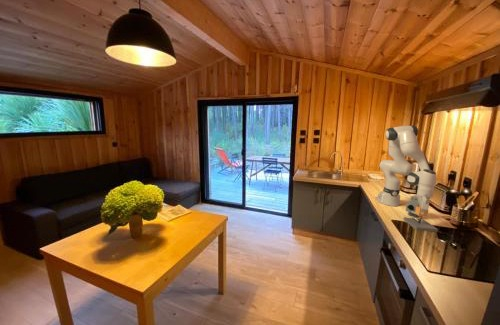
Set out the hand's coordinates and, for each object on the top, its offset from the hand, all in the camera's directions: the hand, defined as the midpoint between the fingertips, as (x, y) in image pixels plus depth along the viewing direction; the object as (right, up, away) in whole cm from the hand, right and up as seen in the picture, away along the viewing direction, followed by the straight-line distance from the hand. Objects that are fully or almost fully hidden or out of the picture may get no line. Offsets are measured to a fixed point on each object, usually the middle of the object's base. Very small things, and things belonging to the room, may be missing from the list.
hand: (421, 212), depth 152 cm
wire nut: (0, -2, 0) cm, 2 cm away
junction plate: (0, -10, +2) cm, 10 cm away
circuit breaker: (+8, -7, +19) cm, 22 cm away
